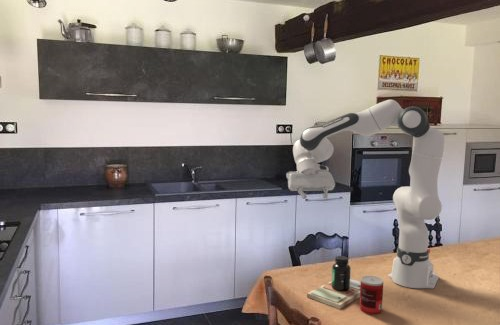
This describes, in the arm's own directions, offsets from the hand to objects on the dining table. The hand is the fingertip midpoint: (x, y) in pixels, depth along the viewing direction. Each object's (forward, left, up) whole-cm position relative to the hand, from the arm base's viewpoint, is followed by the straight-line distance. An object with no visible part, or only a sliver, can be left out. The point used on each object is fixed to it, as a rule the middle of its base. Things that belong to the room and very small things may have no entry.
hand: (315, 197), depth 180 cm
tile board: (+9, +18, -33) cm, 39 cm away
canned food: (+13, +33, -34) cm, 49 cm away
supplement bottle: (+8, +19, -32) cm, 38 cm away
